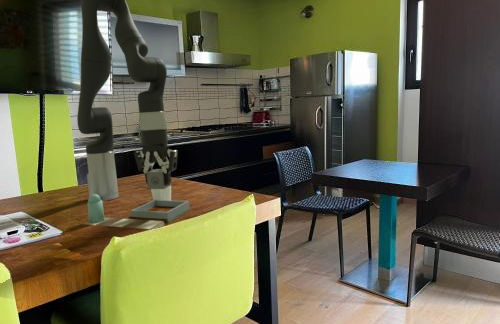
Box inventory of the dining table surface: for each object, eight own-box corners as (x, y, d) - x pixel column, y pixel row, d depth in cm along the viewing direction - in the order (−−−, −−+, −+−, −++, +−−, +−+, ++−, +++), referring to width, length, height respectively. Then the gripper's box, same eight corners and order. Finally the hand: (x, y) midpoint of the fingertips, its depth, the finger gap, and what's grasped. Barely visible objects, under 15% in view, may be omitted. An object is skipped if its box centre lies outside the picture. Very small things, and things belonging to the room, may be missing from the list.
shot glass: (154, 208, 121) (152, 187, 120) (149, 203, 127) (148, 183, 126) (175, 204, 124) (173, 184, 123) (169, 200, 130) (168, 180, 129)
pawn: (86, 222, 105) (82, 195, 104) (96, 218, 109) (93, 192, 107) (97, 223, 103) (94, 196, 102) (107, 219, 107) (104, 192, 106)
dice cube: (163, 189, 108) (162, 172, 108) (148, 189, 109) (146, 172, 109) (171, 185, 113) (169, 169, 112) (156, 185, 114) (154, 169, 113)
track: (82, 228, 104) (81, 224, 104) (99, 220, 110) (99, 216, 110) (149, 233, 96) (149, 229, 96) (164, 225, 103) (163, 220, 103)
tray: (131, 220, 109) (130, 210, 108) (155, 208, 120) (154, 199, 120) (168, 223, 104) (167, 212, 104) (189, 210, 116) (189, 201, 115)
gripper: (124, 129, 107) (130, 187, 110) (167, 128, 102) (173, 188, 105) (140, 127, 114) (145, 182, 117) (181, 126, 109) (186, 182, 112)
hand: (158, 184), depth 111 cm, fingers closed on dice cube, 5 cm apart
